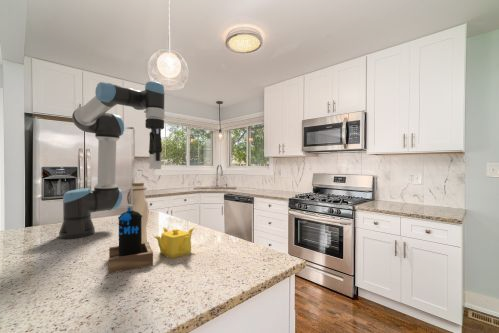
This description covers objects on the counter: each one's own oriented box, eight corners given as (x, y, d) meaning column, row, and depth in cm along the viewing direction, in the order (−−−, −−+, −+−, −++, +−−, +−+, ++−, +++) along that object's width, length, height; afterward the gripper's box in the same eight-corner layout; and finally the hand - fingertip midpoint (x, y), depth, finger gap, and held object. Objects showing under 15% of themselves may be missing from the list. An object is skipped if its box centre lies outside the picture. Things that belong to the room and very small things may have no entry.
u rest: (109, 259, 94) (109, 247, 94) (148, 252, 101) (148, 241, 101) (108, 273, 82) (108, 259, 82) (153, 265, 88) (153, 252, 88)
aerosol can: (123, 254, 95) (123, 203, 95) (145, 254, 96) (145, 203, 95) (113, 263, 87) (113, 207, 87) (137, 262, 88) (137, 207, 87)
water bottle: (138, 247, 106) (138, 184, 106) (120, 246, 108) (120, 183, 108) (152, 240, 116) (152, 182, 116) (136, 239, 118) (136, 182, 118)
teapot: (163, 246, 108) (163, 225, 108) (195, 246, 109) (195, 225, 109) (151, 259, 93) (151, 234, 93) (189, 259, 94) (189, 234, 94)
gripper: (142, 122, 113) (142, 168, 114) (149, 113, 91) (149, 169, 92) (159, 124, 117) (159, 168, 117) (169, 115, 95) (169, 169, 95)
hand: (154, 168), depth 104 cm, fingers open, 13 cm apart
